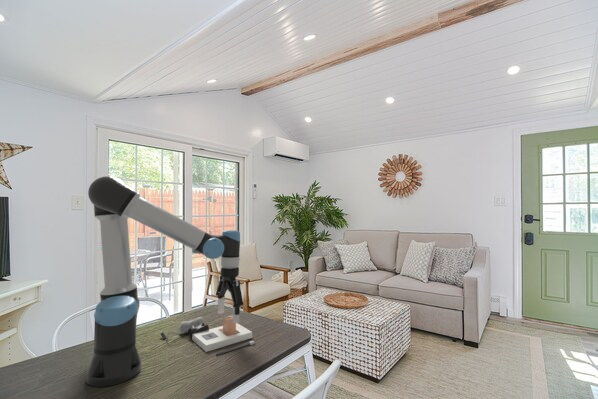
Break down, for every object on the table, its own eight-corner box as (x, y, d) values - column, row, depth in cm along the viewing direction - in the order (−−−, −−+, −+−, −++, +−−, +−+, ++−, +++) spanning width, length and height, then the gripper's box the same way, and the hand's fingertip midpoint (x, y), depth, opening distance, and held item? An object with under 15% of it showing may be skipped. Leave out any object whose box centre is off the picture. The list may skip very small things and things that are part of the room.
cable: (216, 356, 109) (216, 353, 109) (214, 354, 110) (215, 352, 110) (254, 343, 120) (254, 341, 120) (253, 342, 121) (253, 340, 121)
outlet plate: (205, 351, 113) (206, 344, 113) (192, 339, 123) (192, 332, 123) (252, 337, 125) (252, 331, 126) (235, 327, 136) (236, 321, 136)
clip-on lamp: (165, 353, 118) (210, 333, 127) (161, 338, 117) (207, 320, 126) (161, 339, 128) (203, 322, 137) (158, 325, 127) (201, 309, 136)
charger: (226, 339, 124) (227, 319, 124) (222, 336, 127) (223, 317, 127) (235, 337, 126) (236, 317, 126) (231, 334, 129) (231, 315, 130)
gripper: (253, 270, 120) (251, 324, 119) (224, 262, 139) (222, 308, 138) (236, 272, 116) (234, 328, 114) (209, 263, 135) (207, 311, 134)
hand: (227, 317), depth 126 cm, fingers open, 13 cm apart
